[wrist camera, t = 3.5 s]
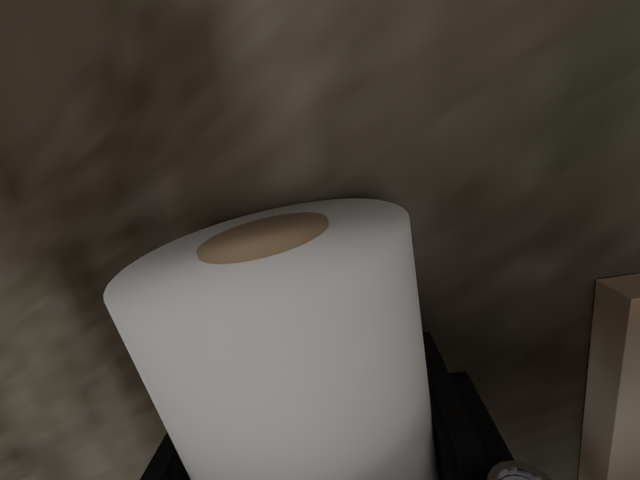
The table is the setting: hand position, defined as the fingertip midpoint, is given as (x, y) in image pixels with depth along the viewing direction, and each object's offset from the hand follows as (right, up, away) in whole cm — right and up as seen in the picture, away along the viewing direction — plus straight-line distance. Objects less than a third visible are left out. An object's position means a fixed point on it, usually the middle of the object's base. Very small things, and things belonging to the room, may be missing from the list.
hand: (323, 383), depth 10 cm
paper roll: (0, 0, +1) cm, 1 cm away
